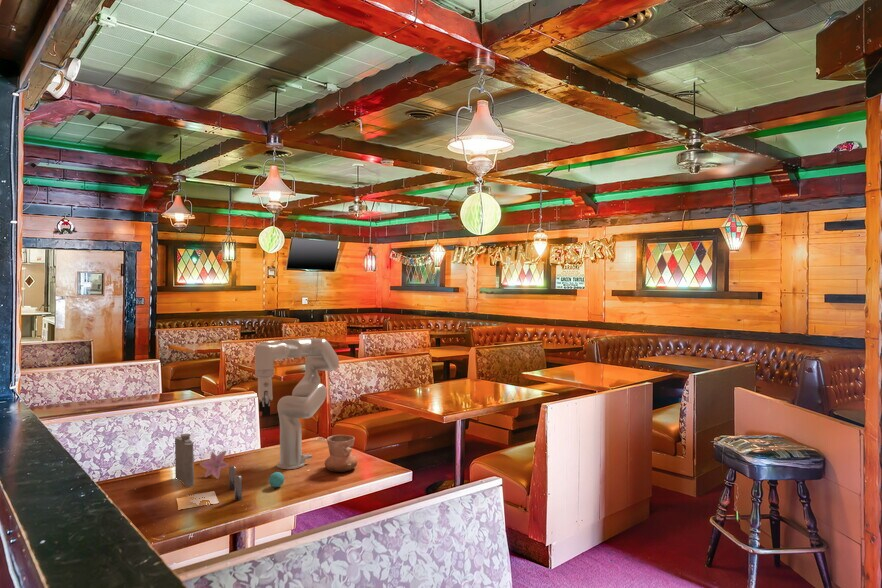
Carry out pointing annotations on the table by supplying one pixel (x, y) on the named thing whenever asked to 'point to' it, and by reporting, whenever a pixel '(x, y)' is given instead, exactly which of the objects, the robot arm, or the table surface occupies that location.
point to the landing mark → (208, 496)
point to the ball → (276, 479)
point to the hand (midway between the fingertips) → (264, 413)
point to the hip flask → (184, 460)
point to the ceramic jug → (340, 453)
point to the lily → (214, 464)
